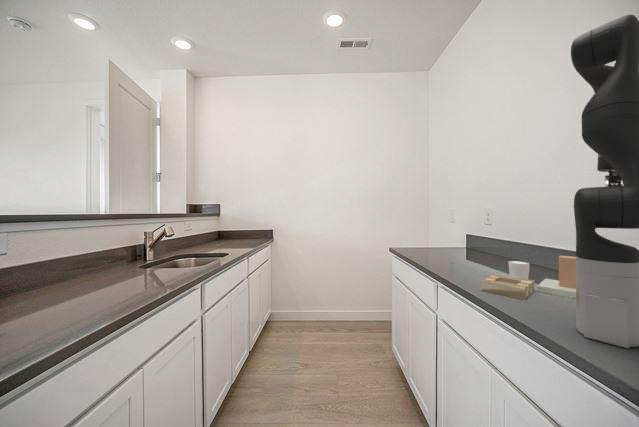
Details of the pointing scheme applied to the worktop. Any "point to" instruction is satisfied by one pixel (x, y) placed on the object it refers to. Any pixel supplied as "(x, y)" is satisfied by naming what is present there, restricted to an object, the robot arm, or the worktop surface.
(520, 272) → the white cube
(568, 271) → the terracotta block
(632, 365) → the worktop surface
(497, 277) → the birch holder
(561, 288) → the sage tile platform
